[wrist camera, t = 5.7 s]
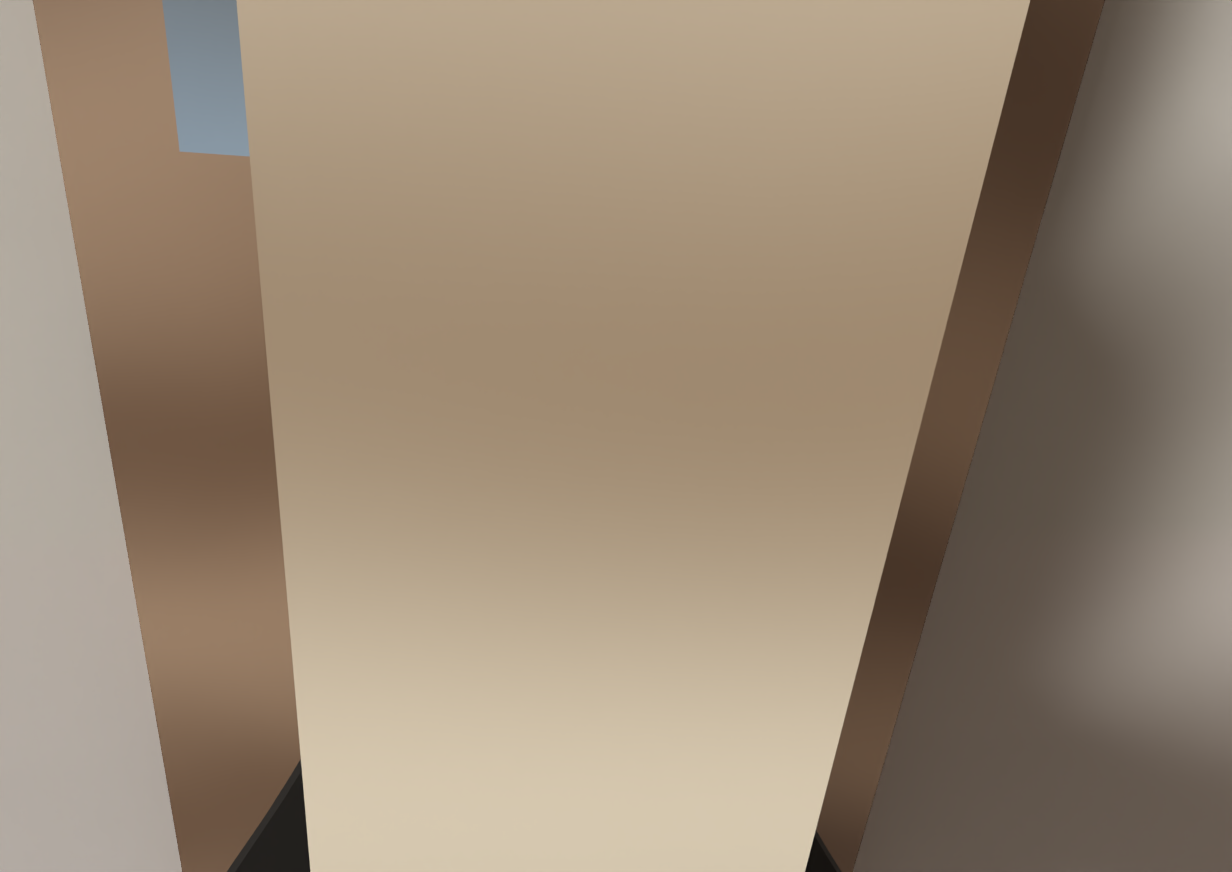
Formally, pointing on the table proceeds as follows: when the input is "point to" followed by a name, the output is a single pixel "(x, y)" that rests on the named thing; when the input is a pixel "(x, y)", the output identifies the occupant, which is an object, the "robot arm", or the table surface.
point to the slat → (598, 402)
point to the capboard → (241, 409)
